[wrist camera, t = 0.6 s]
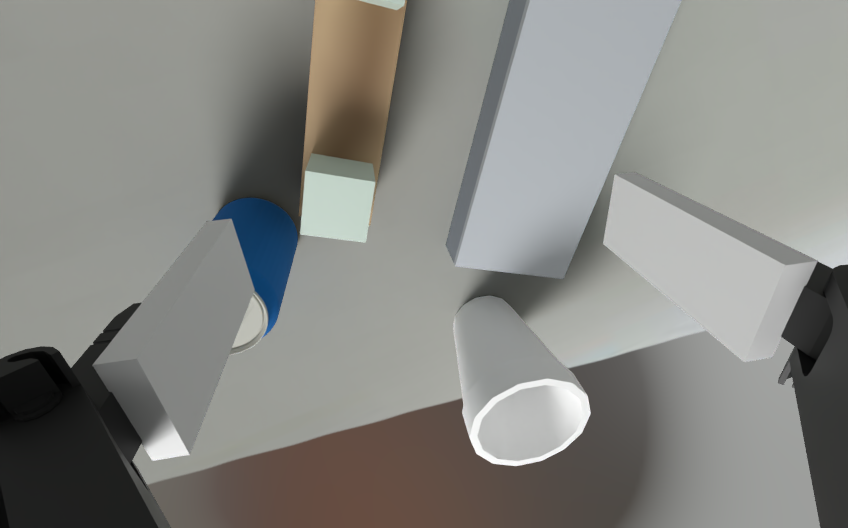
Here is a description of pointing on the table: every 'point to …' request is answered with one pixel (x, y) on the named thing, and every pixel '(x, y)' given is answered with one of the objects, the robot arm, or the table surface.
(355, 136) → the tan wooden bar
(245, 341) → the beverage can
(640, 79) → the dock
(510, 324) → the foam cup
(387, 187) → the table surface
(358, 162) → the block
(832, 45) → the table surface
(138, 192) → the table surface
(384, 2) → the block
